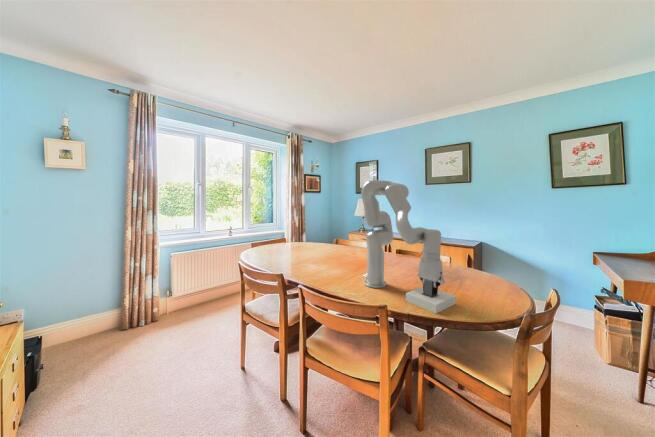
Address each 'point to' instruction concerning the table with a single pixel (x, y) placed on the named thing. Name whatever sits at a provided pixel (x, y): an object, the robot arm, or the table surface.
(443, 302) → the socket housing
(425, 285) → the plug
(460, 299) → the table surface
